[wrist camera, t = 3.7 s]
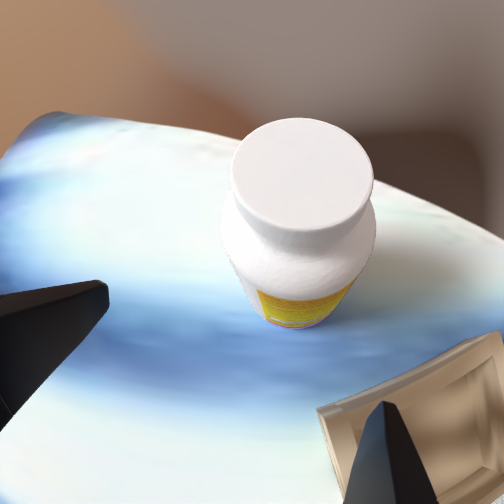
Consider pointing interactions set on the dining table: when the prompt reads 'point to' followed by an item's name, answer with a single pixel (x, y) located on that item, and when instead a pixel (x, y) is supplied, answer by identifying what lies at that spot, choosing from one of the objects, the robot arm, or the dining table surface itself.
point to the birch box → (437, 420)
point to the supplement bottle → (298, 219)
